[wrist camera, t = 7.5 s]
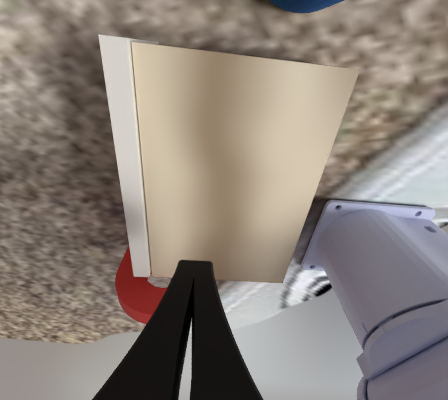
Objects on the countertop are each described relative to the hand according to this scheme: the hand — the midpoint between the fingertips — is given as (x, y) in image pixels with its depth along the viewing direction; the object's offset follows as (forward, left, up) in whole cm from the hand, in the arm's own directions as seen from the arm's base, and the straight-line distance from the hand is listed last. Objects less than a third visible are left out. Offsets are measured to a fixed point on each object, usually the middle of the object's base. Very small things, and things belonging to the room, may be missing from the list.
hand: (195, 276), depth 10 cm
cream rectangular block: (-1, -2, -9) cm, 10 cm away
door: (+4, -2, -9) cm, 10 cm away
